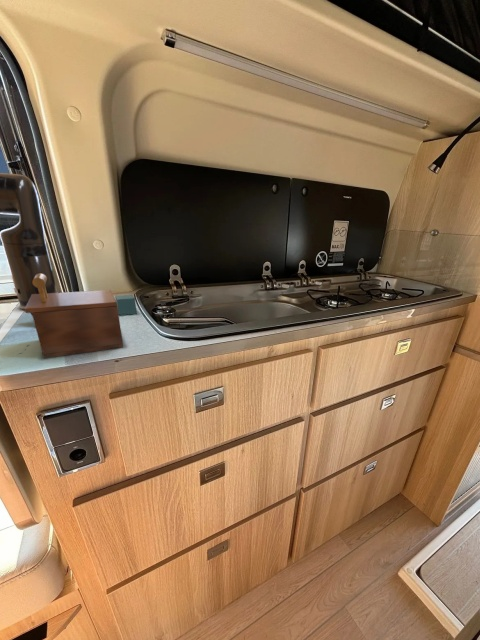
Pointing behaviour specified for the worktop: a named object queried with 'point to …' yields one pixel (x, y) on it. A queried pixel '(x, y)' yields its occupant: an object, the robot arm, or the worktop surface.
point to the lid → (66, 298)
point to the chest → (78, 330)
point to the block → (126, 304)
